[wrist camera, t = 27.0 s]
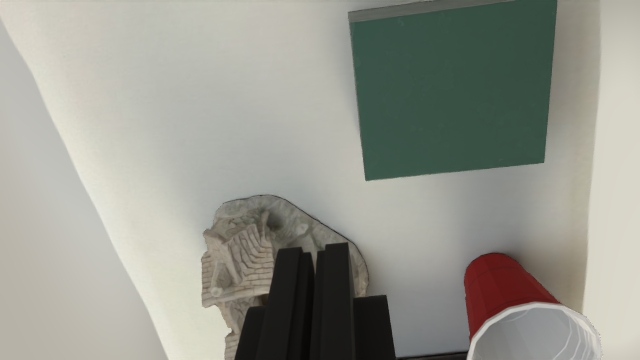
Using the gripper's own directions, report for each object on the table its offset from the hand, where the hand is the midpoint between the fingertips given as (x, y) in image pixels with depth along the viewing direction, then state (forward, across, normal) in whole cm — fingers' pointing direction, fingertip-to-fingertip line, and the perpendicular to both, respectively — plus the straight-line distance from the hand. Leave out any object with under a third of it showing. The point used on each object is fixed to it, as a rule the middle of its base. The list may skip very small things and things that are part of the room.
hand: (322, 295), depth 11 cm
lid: (+23, -8, +2) cm, 25 cm away
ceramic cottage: (+31, +7, +20) cm, 38 cm away
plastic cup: (+31, -14, +24) cm, 42 cm away
